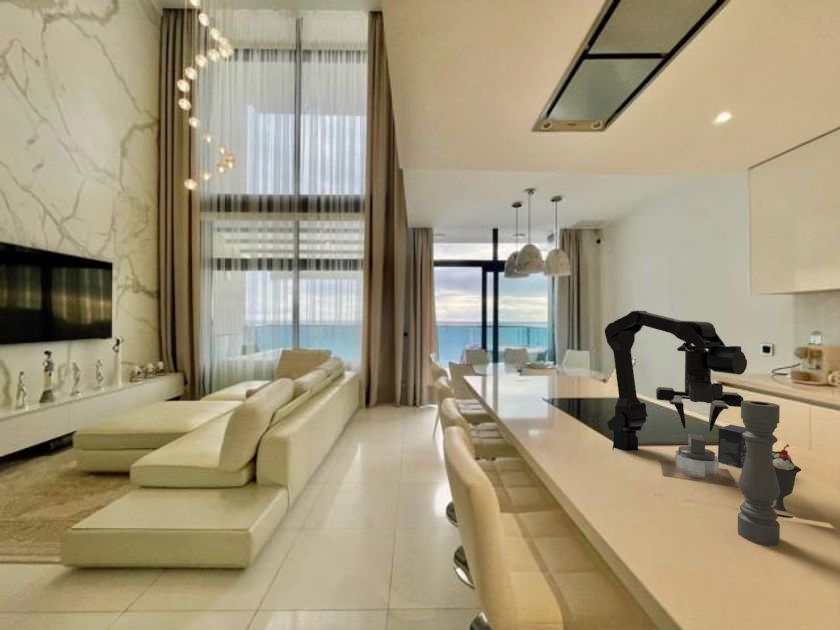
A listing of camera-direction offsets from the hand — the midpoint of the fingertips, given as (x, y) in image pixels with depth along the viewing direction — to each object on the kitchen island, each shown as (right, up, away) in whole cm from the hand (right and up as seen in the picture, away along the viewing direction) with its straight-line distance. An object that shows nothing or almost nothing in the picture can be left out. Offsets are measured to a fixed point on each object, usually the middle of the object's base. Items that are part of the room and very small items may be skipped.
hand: (696, 429), depth 112 cm
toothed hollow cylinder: (0, -11, 0) cm, 11 cm away
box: (+16, -13, +9) cm, 22 cm away
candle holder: (-9, -12, -31) cm, 35 cm away
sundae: (+4, -12, -21) cm, 25 cm away
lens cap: (0, -10, 0) cm, 10 cm away
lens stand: (0, -12, 0) cm, 12 cm away
